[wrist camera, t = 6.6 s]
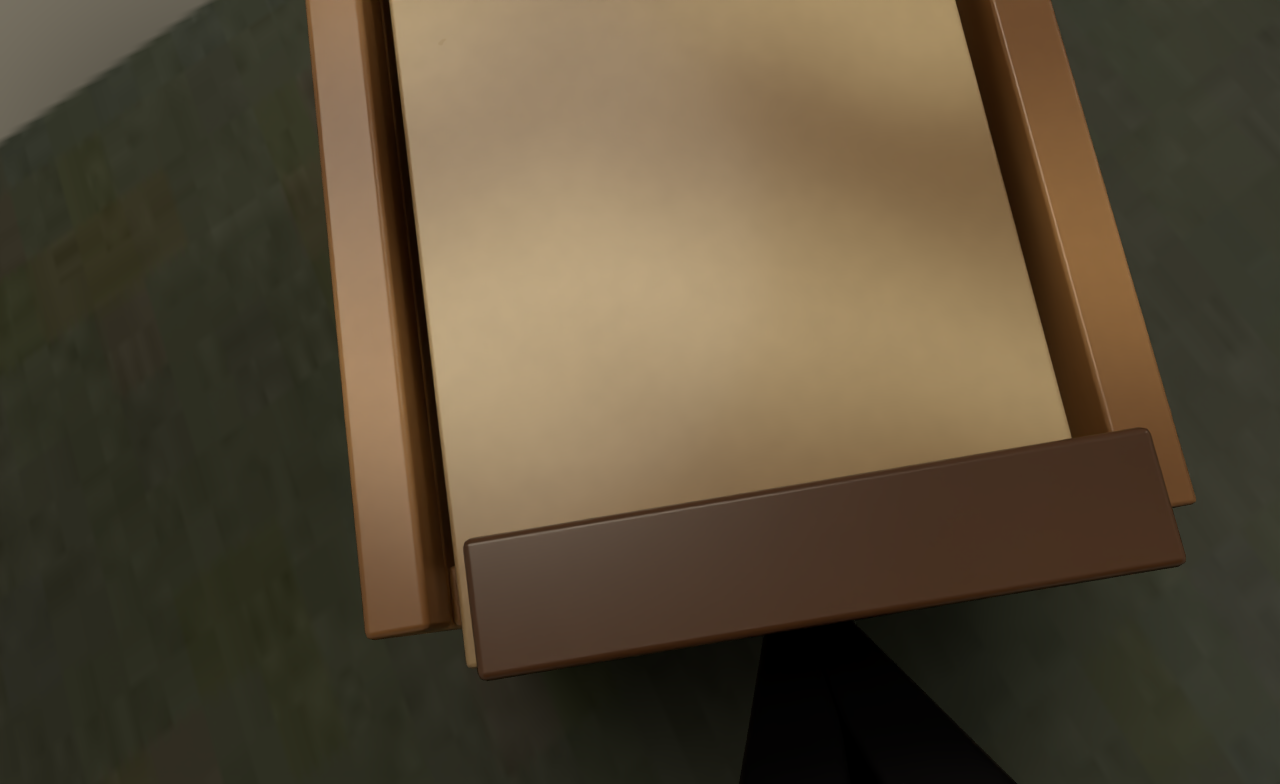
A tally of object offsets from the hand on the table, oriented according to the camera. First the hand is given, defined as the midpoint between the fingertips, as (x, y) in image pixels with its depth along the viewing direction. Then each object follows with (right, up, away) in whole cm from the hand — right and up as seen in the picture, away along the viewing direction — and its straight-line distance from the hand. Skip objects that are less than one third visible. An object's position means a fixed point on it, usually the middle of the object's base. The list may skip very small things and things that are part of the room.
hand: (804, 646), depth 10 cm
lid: (-1, +6, +4) cm, 7 cm away
